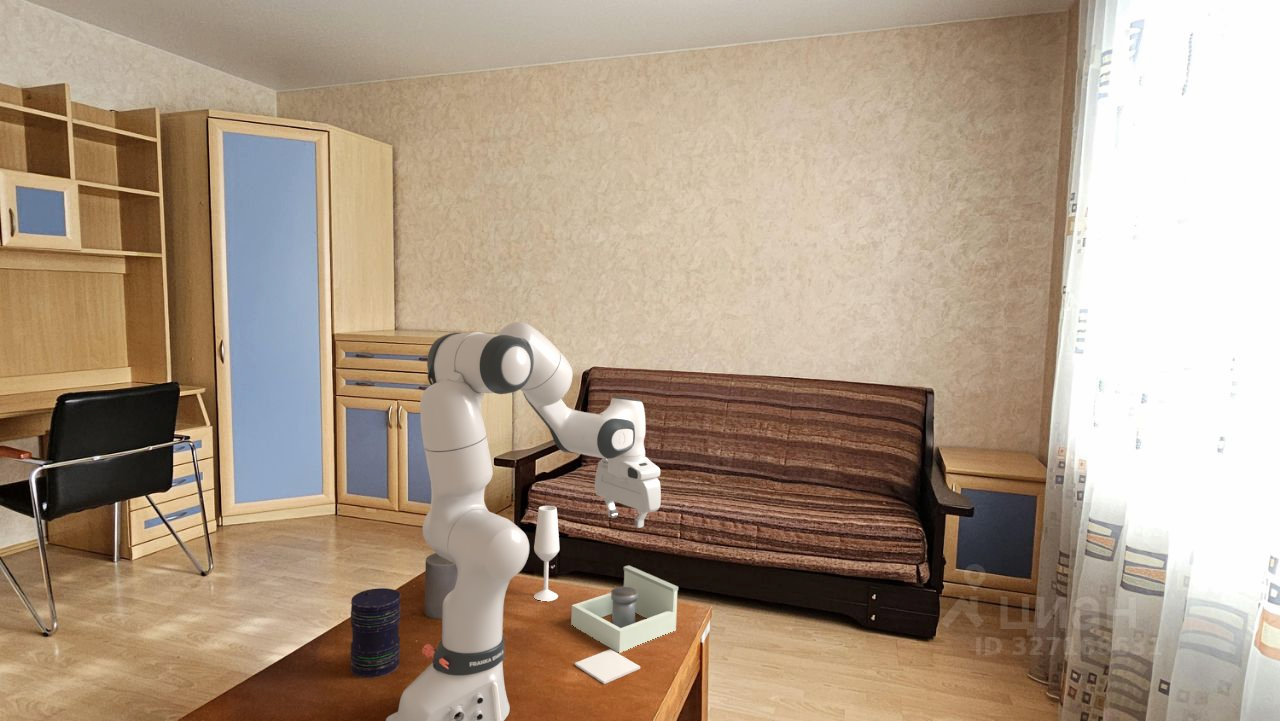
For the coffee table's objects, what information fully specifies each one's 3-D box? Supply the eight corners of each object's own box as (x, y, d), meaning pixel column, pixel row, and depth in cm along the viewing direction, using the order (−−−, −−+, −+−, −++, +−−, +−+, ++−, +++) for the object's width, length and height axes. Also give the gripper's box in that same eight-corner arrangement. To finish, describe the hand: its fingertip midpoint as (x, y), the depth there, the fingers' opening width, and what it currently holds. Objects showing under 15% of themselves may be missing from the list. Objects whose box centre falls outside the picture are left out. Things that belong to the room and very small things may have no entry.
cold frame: (619, 653, 158) (620, 606, 157) (571, 625, 171) (572, 581, 171) (676, 630, 170) (678, 586, 170) (627, 605, 184) (628, 565, 183)
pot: (622, 636, 166) (623, 599, 166) (604, 627, 171) (605, 590, 170) (641, 629, 171) (643, 592, 170) (624, 619, 175) (625, 584, 175)
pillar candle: (422, 606, 179) (422, 548, 178) (460, 600, 183) (461, 544, 182) (427, 622, 171) (428, 562, 169) (468, 616, 175) (469, 557, 173)
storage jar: (410, 663, 151) (411, 595, 150) (371, 683, 142) (372, 611, 141) (378, 650, 156) (379, 584, 155) (339, 669, 147) (340, 599, 146)
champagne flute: (563, 596, 188) (565, 508, 187) (544, 603, 183) (547, 513, 181) (546, 589, 193) (548, 503, 191) (527, 596, 187) (529, 508, 186)
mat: (604, 684, 145) (604, 681, 145) (574, 665, 152) (574, 662, 152) (640, 668, 151) (640, 666, 151) (610, 651, 159) (610, 649, 159)
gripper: (588, 458, 172) (588, 513, 173) (645, 475, 157) (644, 535, 158) (608, 455, 176) (608, 509, 177) (665, 470, 161) (664, 529, 162)
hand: (625, 521), depth 168 cm, fingers open, 8 cm apart
